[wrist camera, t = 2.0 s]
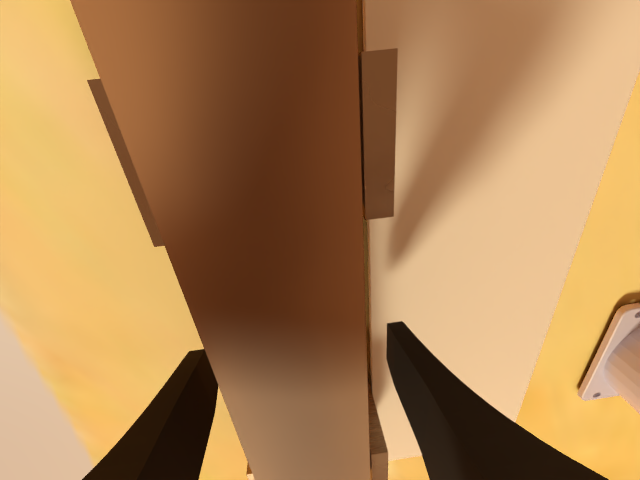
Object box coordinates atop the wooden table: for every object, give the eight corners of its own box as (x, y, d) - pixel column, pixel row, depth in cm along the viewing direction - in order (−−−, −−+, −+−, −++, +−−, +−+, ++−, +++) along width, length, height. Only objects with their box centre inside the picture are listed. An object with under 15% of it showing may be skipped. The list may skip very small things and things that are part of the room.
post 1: (357, 60, 10) (397, 48, 7) (361, 175, 12) (393, 216, 8) (161, 81, 10) (87, 80, 6) (196, 195, 12) (154, 246, 8)
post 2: (367, 375, 18) (388, 452, 14) (368, 416, 20) (387, 493, 16) (255, 391, 17) (246, 474, 14) (267, 431, 19) (262, 514, 16)
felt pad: (715, -187, 8) (734, -198, 8) (504, 436, 22) (508, 441, 22) (359, -161, 8) (361, -172, 8) (372, 457, 22) (373, 463, 22)
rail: (320, -113, 6) (348, -279, 3) (359, 497, 18) (373, 572, 15) (120, -97, 6) (-28, -257, 3) (294, 508, 18) (295, 586, 15)
